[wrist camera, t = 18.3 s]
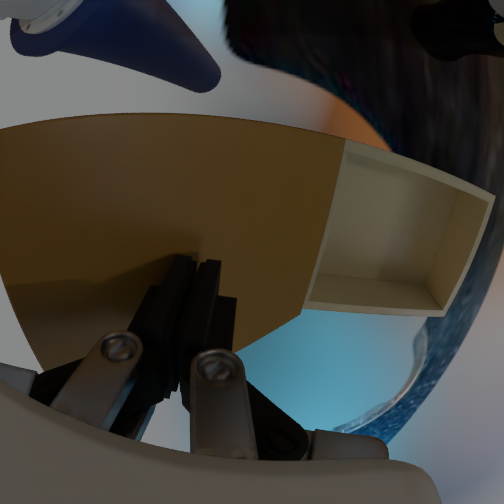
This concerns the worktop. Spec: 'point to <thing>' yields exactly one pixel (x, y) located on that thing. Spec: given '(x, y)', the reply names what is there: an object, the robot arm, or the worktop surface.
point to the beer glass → (460, 28)
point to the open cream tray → (396, 236)
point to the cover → (157, 219)
